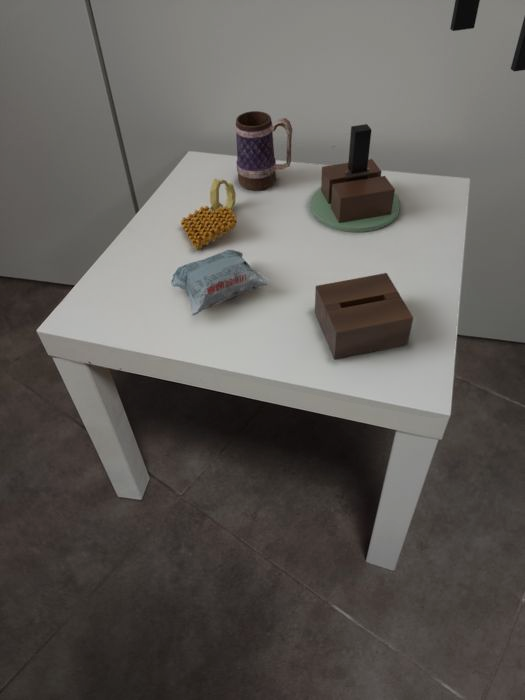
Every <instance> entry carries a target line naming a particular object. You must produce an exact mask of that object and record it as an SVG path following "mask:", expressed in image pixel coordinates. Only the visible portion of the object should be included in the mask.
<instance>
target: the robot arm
mask: <svg viewBox="0 0 525 700" xmlns="http://www.w3.org/2000/svg"><path fill="white" fill-rule="evenodd" d="M480 2H481V0H455V1H454V6H453V11H452V17H451V18H452V19H451V22H450V28H449V29H450V31H452V32H457V31H463V30H472V29H475V26H476V20H477V16H478V11H479V7H480ZM510 70H511V71H513V72H521V71H525V16H524V17H523V21H522V25H521V27H520V32H519V36H518V39H517V43H516V47H515V50H514V54H513V58H512V61H511V65H510Z"/></svg>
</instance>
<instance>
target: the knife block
mask: <svg viewBox="0 0 525 700" xmlns="http://www.w3.org/2000/svg"><path fill="white" fill-rule="evenodd" d="M314 290H315V294H314V315H315V317H316V320H317V322H318V324H319V327H320V329H321V332H322V333H323V337H324V339H325V341H326V344H327V345H328V348H329V351H330V353H331V355H332V357H333V359H334V360H337V359H343V358H348V357H349V358H350V357H353V356H359V355H364V354H368V353H374V352H378V351H384V350H389V349H393V348H394V349H395V348H397V347H403V346H407V345H408V343H409V340H410V334H411V330H412V326H413V322H414V316H413V314H412V313H411V311H410V310H409V308H408V306H407V304H406V303H405V301H404V299H403V298H402V296H401V295H400V293H399V291H398V289H397V288H396V286H395V284H394V283H393V281H392V279H391V278H390V276H389V274H388V273H387V272H384V273H378V274H373V275H368V276H361V277H357V278H351V279H346V280H339V281H335V282H330V283H324V284H317V285H315V289H314Z"/></svg>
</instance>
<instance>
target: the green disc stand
mask: <svg viewBox="0 0 525 700" xmlns="http://www.w3.org/2000/svg"><path fill="white" fill-rule="evenodd" d="M367 168H369V176H368V179H362V180H356V181H349V182H345V171H350V170H349V169H348V162H345V163H344V162H343V163H338V164H331V165H324V166H322V167H321V180H320V181H321V182H320V183H321V184H320V187H319V188H318V189H317V190H316V191H315V192H314V193H313V195H312V196H311V199H310V210H311V213H312V215H313V217H314V218H316V220H317V221H319V222H320V223H321V224H323V225H325V226H327V227H329V228H332V229H333V230H338V231H341V232H349V233H364V232H372V231H376V230H379V229H382V228H384V227H386V226H388V225H390V224H391V223H393V222H394V221H395V219H397V217H398V215H399V212H400V206H401V203H400V200H399V197H398V196H397V194H396V193H395V192H396V189H395V187H394V186H393V185H392V183H391V182H390V181H389V179H388V178H387V176H386V175H382V170H381V168H380V167H379V166H378V165H377V163H376V162H375V161H374V159H373V158H368V167H367Z"/></svg>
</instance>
